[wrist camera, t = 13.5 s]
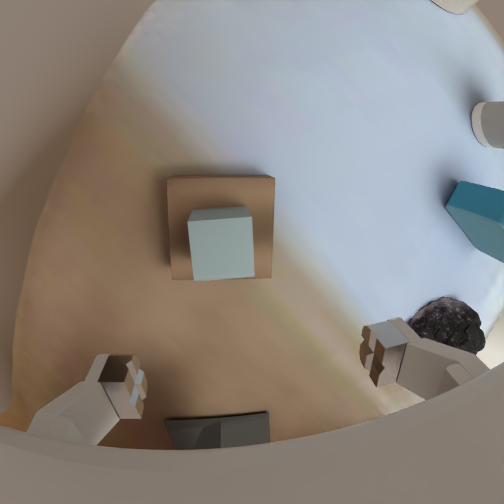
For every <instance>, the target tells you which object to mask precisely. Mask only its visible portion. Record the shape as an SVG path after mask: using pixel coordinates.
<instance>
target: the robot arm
mask: <svg viewBox="0 0 504 504" xmlns="http://www.w3.org/2000/svg"><path fill="white" fill-rule="evenodd" d="M432 1H433V2H434V3H436V4H437V5H438V6H440V7H442V8H443V9H445V10H447V11H449V12H452V13H455V14H464V13H466V12H467V11H468V10H469V9H470V8H471V7H472V6H473V5H474V4H475V3H476V2H478V1H479V0H432ZM362 337H363V338H364V341H363V342H362V343H361V345H360V351H359V353H360V360H361V363H362V365H363V367H364V368H365V369H367V370H369V371H370V375H369V376H370V378H371V379H372V381H373V383H374V384H375V386H376V387H380V386H384V385H387V384H391V383H394V382H397V383H398V384H399V385H401V386H403V387H404V388H406V389H408V390H410V391H411V392H413V393H415V394H417V395H418V396H420V397H422V398H424V399H425V400H426V401H423V402H421V403H418V404H416V405H413V406H411V407H408V408H405V409H403V410H400V411H397V412H394V413H391V414H388V415H385V416H382V417H379V418H376V419H373V420H370V421H366V422H363V423H359V424H356V425H352V426H349V427H345V428H341V429H337V430H333V431H329V432H324V433H320V434H315V435H311V436H306V437H301V438H295V439H290V440H284V441H278V442H272V443H265V444H257V445H249V446H240V447H229V448H216V449H197V450H146V449H128V448H115V447H105V446H96V445H97V444H98V443H99V442H100V441H101V440H102V439H103V438H104V436H105V435H106V434H107V433H108V432H109V431H110V430H111V429H112V428H113V427H114V426H115V425H116V423H117V422H118V421H119V420H120V419H141V418H142V413H143V409H144V404H143V401H142V400H143V399H144V398H145V397H146V395H147V380H146V376H145V373H144V372H143V371H142V370H141V369H139V367H140V360H139V358H138V356H137V355H136V354H99V355H97V356H96V358H95V360H94V362H93V364H92V366H91V368H90V370H89V372H88V374H87V377H86V379H85V381H84V382H79V383H78V384H76V385H75V386H74V387H72V388H71V389H69V390H68V391H66V392H65V393H63V394H62V395H60V396H59V397H57V398H56V399H55V400H53V401H52V402H50V403H49V404H47V405H46V406H44V407H43V408H41V409H40V410H38V411H37V412H36V414H35V416H34V418H33V420H32V422H31V424H30V426H29V428H28V430H27V433H26V432H22V431H18V430H15V429H11V428H7V427H4V426H1V425H0V504H504V362H503V363H501V364H500V365H498V366H496V367H494V368H493V369H491V370H490V369H489V368H488V367H487V366H486V365H485V364H484V363H483V362H482V361H481V360H480V359H479V358H478V357H477V356H476V355H475V354H473V353H469V352H466V351H463V350H460V349H457V348H454V347H451V346H448V345H445V344H442V343H439V342H436V341H433V340H430V339H427V338H422V339H421V338H420V337H419V336H418V335H417V334H416V333H415V332H414V330H413V329H412V328H411V327H410V326H409V325H408V324H407V323H406V322H405V321H404V320H403V319H402V318H399V317H398V318H394V319H390V320H387V321H384V322H380V323H375V324H371V325H366V326H364V327H363V329H362Z"/></svg>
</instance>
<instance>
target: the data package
mask: <svg viewBox="0 0 504 504" xmlns="http://www.w3.org/2000/svg"><path fill="white" fill-rule="evenodd" d="M446 210H447V211H448V213H449V214H450V215H451V216H452V218H453V219H454V220H455V221H456V222H457V224H458V225H459V226H460V228H461V229H462V230H463V231H464V233H465V234H466V235H467V237H468V238H469V239H470V241H471V242H472V243H473V245H474V246H475V247H476V248H477V249H479V250H480V251H482V252H483V253H485V254H487V255H489V256H491V257H493V258H495V259H497V260H499V261H501V262H503V263H504V191H502V190H498V189H495V188H491V187H486V186H482V185H478V184H474V183H469V182H465V181H460V182H459V183H458V185H457V187H456V188H455V190H454V192H453V194H452V196H451V197H450V199H449V201H448V203H447V204H446Z"/></svg>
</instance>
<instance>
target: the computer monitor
mask: <svg viewBox="0 0 504 504" xmlns="http://www.w3.org/2000/svg"><path fill="white" fill-rule="evenodd" d="M164 422H165V425H166V427H167V430H168V432H169V434H170V437H171V439H172V441H173V444H174V446H175V448H176V450H197V449H216V448H229V447H240V446H249V445H257V444H265V443H270V436H269V412H268V413H261V414H253V415H245V416H235V417H224V418H209V419H186V420H164Z"/></svg>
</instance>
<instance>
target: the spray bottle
mask: <svg viewBox="0 0 504 504" xmlns="http://www.w3.org/2000/svg"><path fill="white" fill-rule="evenodd" d="M471 118H472V127H473V131H474V134H475V136H476V138H477V139H478V141H479V142H480V143H481V144H482V145H484V146H486V147H493V148H502V149H504V102H483V103H478V104H477V105H475V107H474V109H473V111H472V116H471Z"/></svg>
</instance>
